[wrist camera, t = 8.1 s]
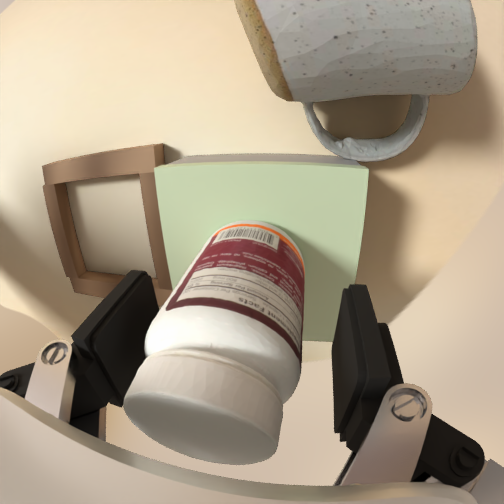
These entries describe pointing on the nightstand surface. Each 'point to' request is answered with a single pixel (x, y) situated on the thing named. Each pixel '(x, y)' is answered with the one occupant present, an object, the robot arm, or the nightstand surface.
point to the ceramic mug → (362, 57)
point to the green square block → (272, 216)
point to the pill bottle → (225, 349)
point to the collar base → (63, 226)
